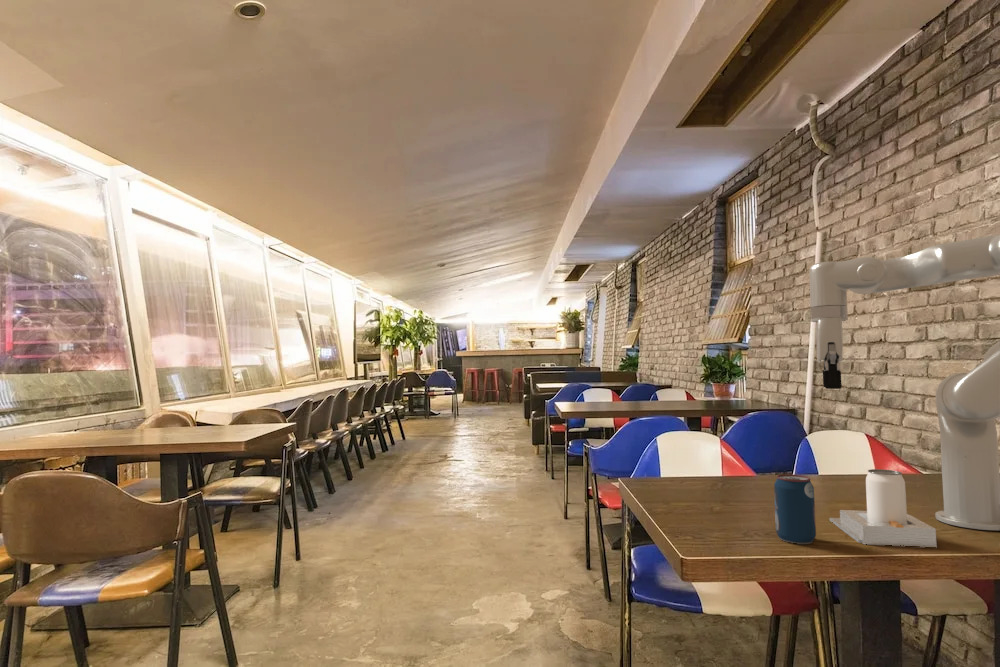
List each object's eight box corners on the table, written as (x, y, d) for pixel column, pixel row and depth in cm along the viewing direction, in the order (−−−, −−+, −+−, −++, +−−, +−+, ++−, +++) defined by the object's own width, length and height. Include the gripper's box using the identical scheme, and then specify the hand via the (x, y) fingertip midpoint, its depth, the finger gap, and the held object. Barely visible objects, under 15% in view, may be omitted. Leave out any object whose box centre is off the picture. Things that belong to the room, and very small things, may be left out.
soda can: (824, 543, 109) (822, 479, 109) (794, 546, 107) (792, 481, 107) (796, 533, 115) (794, 472, 116) (767, 536, 113) (765, 474, 114)
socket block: (897, 523, 122) (896, 504, 122) (940, 548, 105) (939, 527, 105) (829, 520, 124) (828, 502, 125) (861, 544, 107) (860, 523, 108)
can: (905, 531, 113) (902, 470, 114) (909, 540, 108) (906, 475, 109) (867, 527, 117) (864, 467, 117) (869, 535, 111) (866, 473, 112)
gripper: (810, 318, 144) (813, 386, 143) (811, 312, 129) (814, 389, 128) (844, 316, 141) (848, 386, 140) (850, 311, 126) (854, 389, 125)
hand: (832, 387), depth 134 cm, fingers open, 9 cm apart
